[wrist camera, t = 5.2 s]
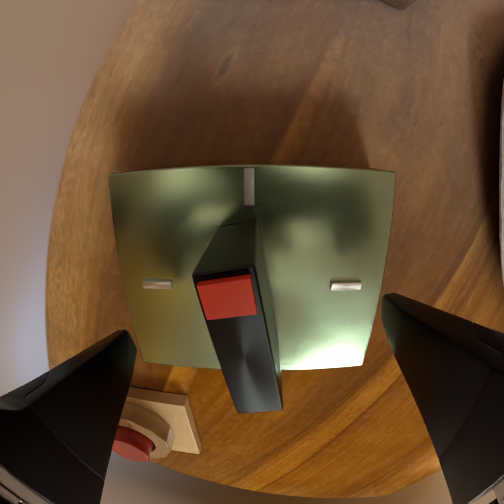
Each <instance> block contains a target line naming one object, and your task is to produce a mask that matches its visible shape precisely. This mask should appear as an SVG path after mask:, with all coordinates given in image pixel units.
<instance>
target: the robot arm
mask: <svg viewBox="0 0 504 504" xmlns="http://www.w3.org/2000/svg"><path fill="white" fill-rule="evenodd" d="M381 318H382V323H383V326H384V328H385V331H386V334H387V336H388V339H389V342H390V345H391V348H392V350H393V353H394V356H395V358H396V360H397V363H398V365H399V367H400V369H401V371H402V373H403V375H404V377H405V379H406V382H407V384H408V386H409V388H410V390H411V392H412V395H413V397H414V399H415V401H416V404H417V406H418V408H419V411H420V413H421V415H422V418H423V420H424V423H425V425H426V427H427V430H428V432H429V435H430V438H431V440H432V443H433V445H434V448H435V451H436V453H437V456H438V459H439V462H440V465H441V468H442V471H443V474H444V477H445V480H446V483H447V486H448V489H449V492H450V495H451V498H452V502H453V504H471V503H473V502H474V501H476V500H478V499H479V498H481V497H482V496H484V495H486V494H487V493H489V492H490V491H492V490H494V492H495V495H496V497H497V498H496V499H495V500H493V501H492V502H491V503H489V504H504V333H502V332H498V331H495V330H492V329H490V328H487V327H484V326H481V325H479V324H476V323H473V324H472V322H471V321H468V320H466V319H463V318H460V317H458V316H455V315H453V314H450V313H447V312H445V311H442V310H439V309H437V308H434V307H431V306H429V305H426V304H423V303H421V302H418V301H415V300H413V299H410V298H407V297H405V296H402V295H399V294H397V293H390V294H386V295H384V296H383V299H382V314H381ZM136 356H137V348H136V346H135V344H134V342H133V339H132V337H131V335H130V333H129V332H128V331H127V330H118V331H116V332H114V333H112V334H111V335H109V336H107V337H106V338H104V339H102V340H100V341H99V342H97V343H95V344H94V345H92V346H90V347H89V348H87V349H85V350H83V351H82V352H80V353H78V354H77V355H75V356H73V357H72V358H70V359H68V360H67V361H65V362H63V363H61V364H60V365H58V366H56V367H55V368H53V369H51V370H50V371H48V372H46V373H44V374H43V375H41V376H40V377H38V378H36V379H34V380H32V381H30V382H29V383H27V384H25V385H23V386H21V387H19V388H17V389H15V390H13V391H11V392H9V393H8V394H5V395H3V396H1V397H0V504H100V501H101V496H102V491H103V486H104V480H105V476H106V472H107V468H108V463H109V459H110V455H111V451H112V447H113V444H114V440H115V436H116V432H117V429H118V425H119V422H120V418H121V415H122V411H123V408H124V405H125V401H126V398H127V395H128V391H129V388H130V384H131V379H132V375H133V370H134V365H135V361H136Z"/></svg>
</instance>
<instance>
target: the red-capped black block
mask: <svg viewBox="0 0 504 504" xmlns="http://www.w3.org/2000/svg"><path fill="white" fill-rule="evenodd" d="M192 279H193V283H194V286H195V290H196V293H197V296H198V300H199V303H200V306H201V309H202V313H203V316H204V319H205V322H206V325H207V328H208V331H209V334H210V338H211V341H212V344H213V346H214V349H215V352H216V355H217V358H218V361H219V364H220V367H221V370H222V372H223V375H224V378H225V381H226V383H227V386H228V389H229V392H230V394H231V397H232V400H233V402H234V405H235V407H236V410H237V412H238V413H239V414H240V413H254V412H266V411H275V410H282V409H283V398H282V383H281V368H280V354H279V340H278V331H277V326H276V320H275V314H274V308H273V302H272V297H271V291H270V285H269V280H268V274H267V268H266V263H265V257H264V252H263V246H262V241H261V235H260V230H259V224H258V221H252V222H246V223H241V224H235V225H229V226H224V227H219V228H218V229H217V231H216V232H215V234H214V236H213V238H212V239H211V241H210V243H209V245H208V246H207V248H206V250H205V252H204V253H203V255H202V257H201V259H200V261H199V262H198V264H197V266H196V268H195V270H194V271H193V273H192Z"/></svg>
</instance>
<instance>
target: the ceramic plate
mask: <svg viewBox="0 0 504 504" xmlns="http://www.w3.org/2000/svg"><path fill="white" fill-rule="evenodd" d="M499 237H500V256H501V270H502V279H503V286H504V81H503V89H502V102H501V121H500V161H499Z"/></svg>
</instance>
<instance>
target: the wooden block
mask: <svg viewBox="0 0 504 504" xmlns="http://www.w3.org/2000/svg"><path fill="white" fill-rule="evenodd" d="M382 1H384V2H386V3H388V4H390V5H392V6H394V7H396V8H398V9H401V10H404V9H406V8H407V7H408V6H410V5H411V4H412V3H413V2H414V1H415V0H382Z"/></svg>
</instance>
